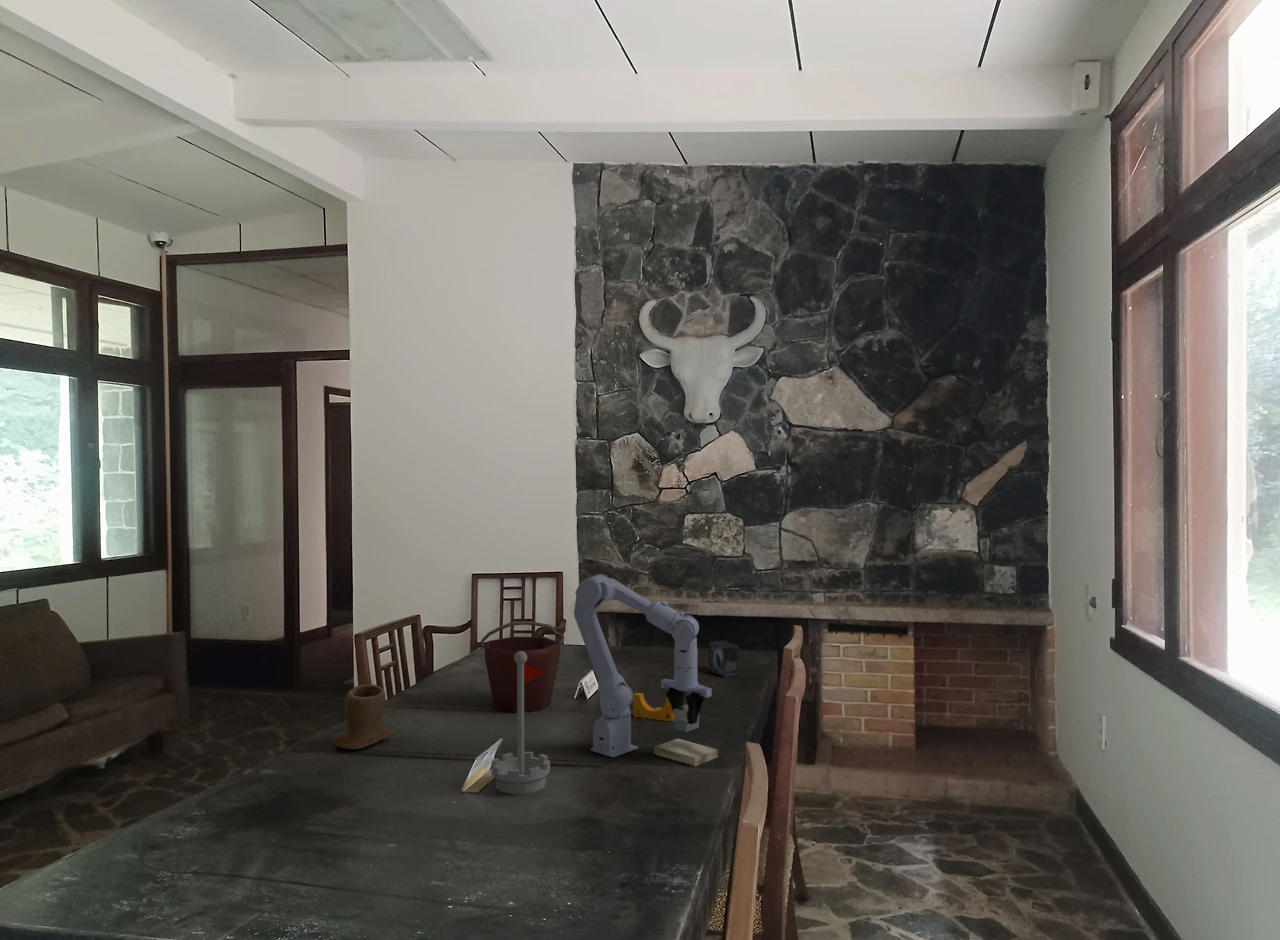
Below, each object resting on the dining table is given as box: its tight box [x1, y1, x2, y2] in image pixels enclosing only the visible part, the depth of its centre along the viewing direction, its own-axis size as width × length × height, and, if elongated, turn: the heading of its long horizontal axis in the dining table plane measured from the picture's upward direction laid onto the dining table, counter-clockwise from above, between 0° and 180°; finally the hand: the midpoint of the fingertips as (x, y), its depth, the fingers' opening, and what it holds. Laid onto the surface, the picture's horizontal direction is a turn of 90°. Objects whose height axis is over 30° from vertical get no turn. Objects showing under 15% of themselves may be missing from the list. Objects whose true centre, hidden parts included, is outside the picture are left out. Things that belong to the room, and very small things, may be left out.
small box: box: [708, 640, 739, 676], centre depth 301 cm, size 11×6×10 cm, turn 25°
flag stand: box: [490, 651, 551, 795], centre depth 196 cm, size 13×13×30 cm
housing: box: [673, 704, 700, 733], centre depth 215 cm, size 5×4×5 cm
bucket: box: [479, 621, 566, 714], centre depth 260 cm, size 24×22×25 cm
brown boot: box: [333, 683, 393, 750], centre depth 225 cm, size 15×12×15 cm
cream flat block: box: [653, 738, 719, 767], centre depth 215 cm, size 9×13×2 cm
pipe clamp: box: [633, 692, 674, 722], centre depth 248 cm, size 12×4×6 cm, turn 66°
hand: (685, 721), depth 215 cm, fingers closed on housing, 4 cm apart
